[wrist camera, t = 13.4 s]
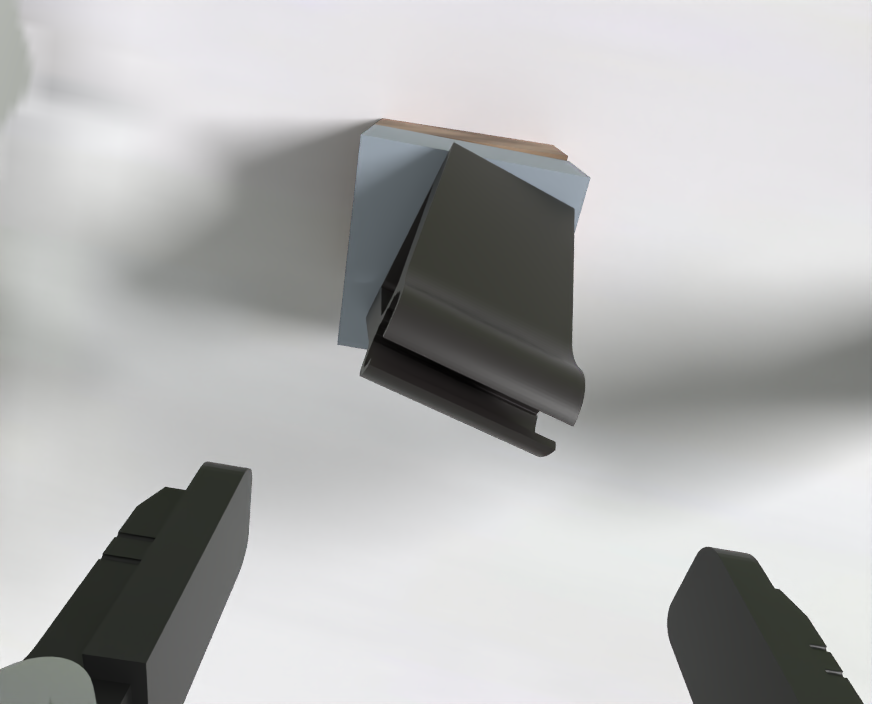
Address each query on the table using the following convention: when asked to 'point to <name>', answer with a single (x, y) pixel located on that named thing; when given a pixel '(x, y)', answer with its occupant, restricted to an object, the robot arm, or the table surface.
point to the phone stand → (482, 305)
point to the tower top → (418, 205)
